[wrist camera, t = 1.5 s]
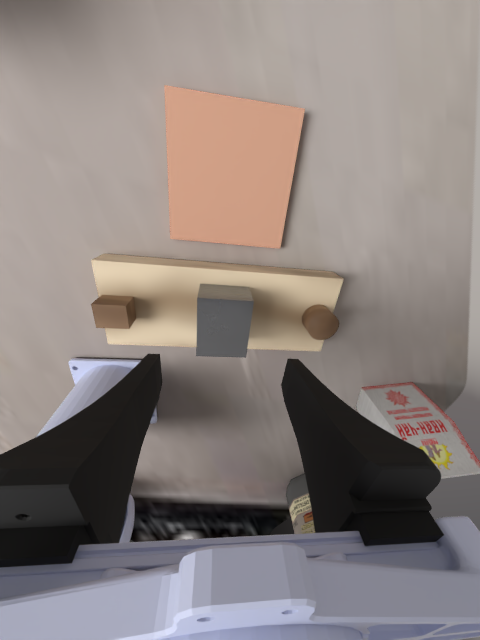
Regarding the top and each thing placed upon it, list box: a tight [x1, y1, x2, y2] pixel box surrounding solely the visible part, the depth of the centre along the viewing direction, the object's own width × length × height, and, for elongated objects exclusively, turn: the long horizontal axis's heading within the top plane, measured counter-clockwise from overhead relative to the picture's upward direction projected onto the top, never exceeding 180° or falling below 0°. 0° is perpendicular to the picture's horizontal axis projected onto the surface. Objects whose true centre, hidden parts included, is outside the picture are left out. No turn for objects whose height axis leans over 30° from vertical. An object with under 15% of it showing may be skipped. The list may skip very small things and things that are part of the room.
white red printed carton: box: [356, 382, 480, 478], centre depth 26 cm, size 4×7×10 cm, turn 93°
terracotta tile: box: [164, 85, 305, 248], centre depth 17 cm, size 9×9×1 cm
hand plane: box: [91, 254, 344, 351], centre depth 20 cm, size 8×20×4 cm, turn 84°
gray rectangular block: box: [196, 284, 254, 357], centre depth 19 cm, size 5×4×3 cm
